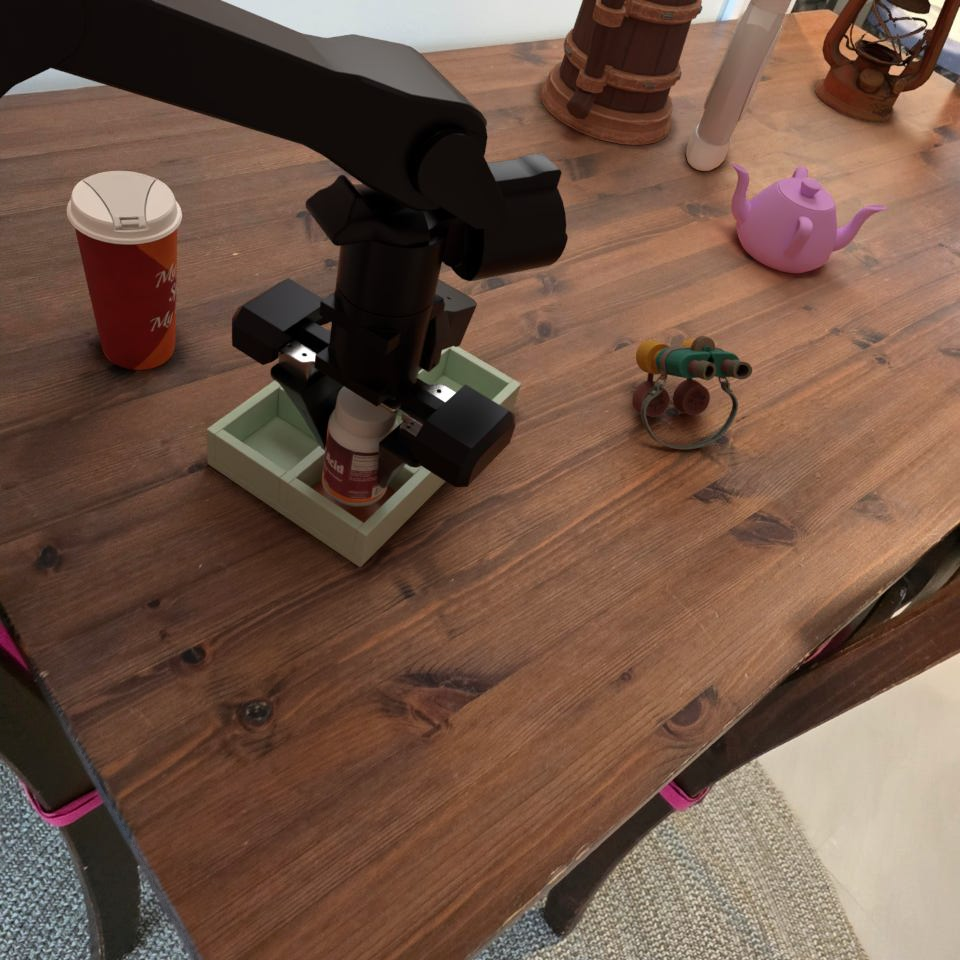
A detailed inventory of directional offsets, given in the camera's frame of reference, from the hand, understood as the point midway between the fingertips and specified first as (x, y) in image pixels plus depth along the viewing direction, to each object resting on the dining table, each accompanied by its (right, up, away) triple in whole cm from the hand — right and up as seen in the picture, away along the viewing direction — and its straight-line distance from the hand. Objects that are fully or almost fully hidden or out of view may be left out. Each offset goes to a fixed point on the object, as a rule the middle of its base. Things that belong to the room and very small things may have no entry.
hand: (357, 465), depth 62 cm
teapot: (+44, +26, +43) cm, 66 cm away
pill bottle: (0, -1, +2) cm, 2 cm away
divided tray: (0, +2, +9) cm, 9 cm away
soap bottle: (+39, +41, +55) cm, 79 cm away
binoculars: (+26, +5, +18) cm, 32 cm away
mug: (+25, +48, +56) cm, 78 cm away
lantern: (+68, +59, +78) cm, 119 cm away
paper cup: (-19, +10, +10) cm, 24 cm away
